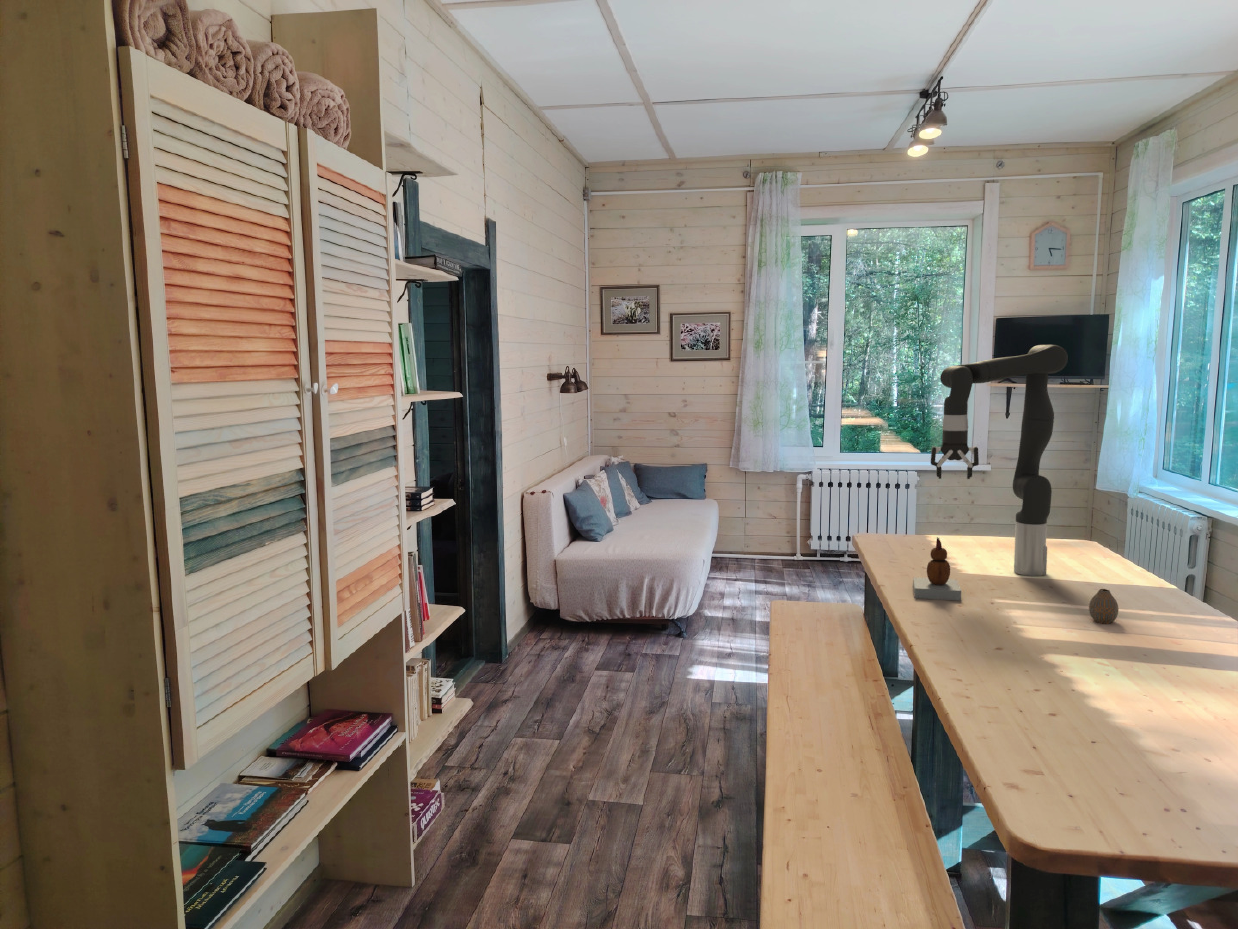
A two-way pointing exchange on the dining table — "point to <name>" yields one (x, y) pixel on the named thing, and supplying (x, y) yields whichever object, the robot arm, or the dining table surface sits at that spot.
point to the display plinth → (936, 589)
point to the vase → (1103, 607)
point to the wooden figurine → (938, 565)
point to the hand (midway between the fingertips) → (953, 478)
